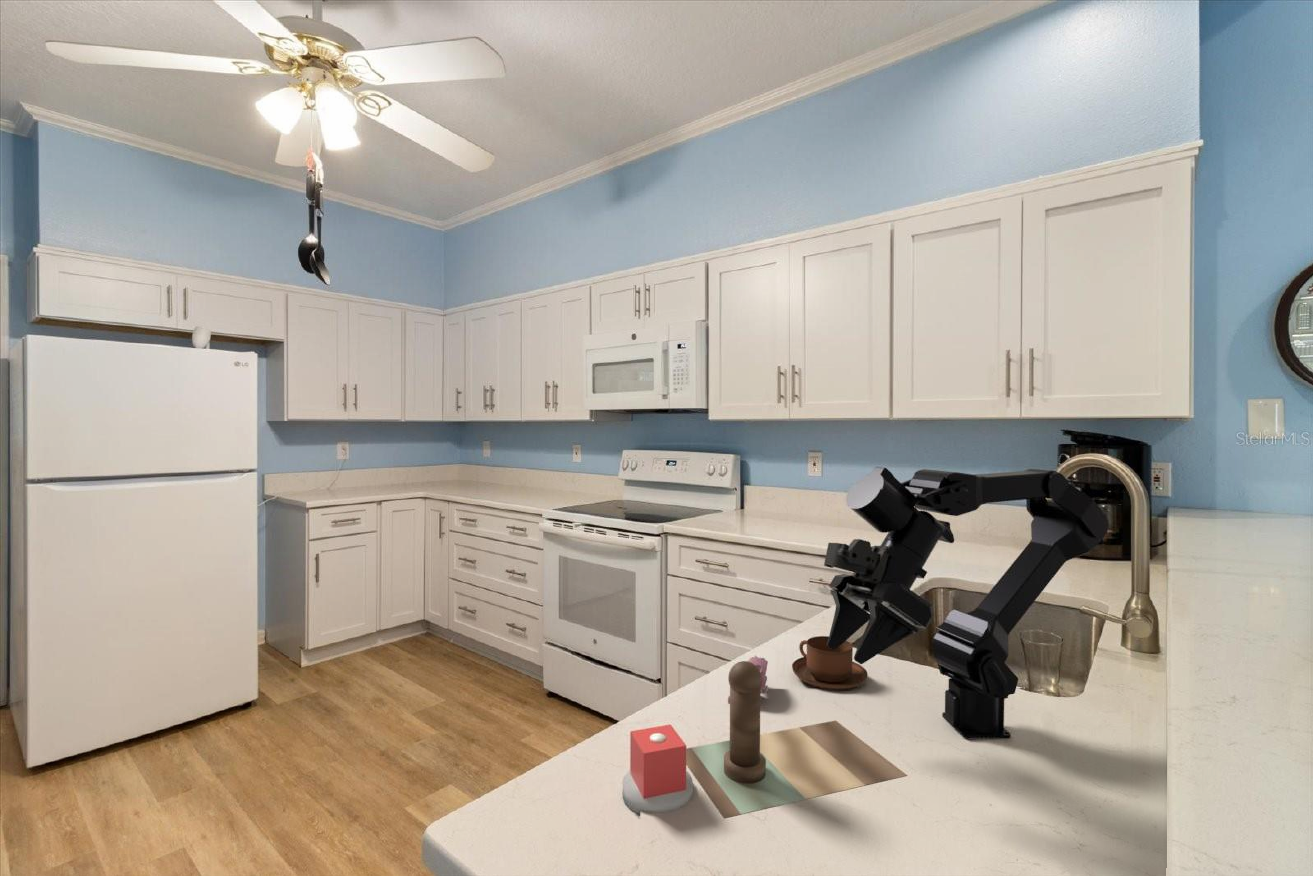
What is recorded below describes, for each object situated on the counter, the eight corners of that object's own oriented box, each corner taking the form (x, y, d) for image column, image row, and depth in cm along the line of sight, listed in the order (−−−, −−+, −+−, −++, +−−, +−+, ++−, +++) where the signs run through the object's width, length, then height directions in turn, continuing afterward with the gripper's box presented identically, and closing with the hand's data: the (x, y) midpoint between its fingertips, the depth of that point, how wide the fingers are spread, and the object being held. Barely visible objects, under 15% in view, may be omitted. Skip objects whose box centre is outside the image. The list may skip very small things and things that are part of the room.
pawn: (761, 759, 75) (762, 654, 75) (769, 783, 70) (770, 670, 70) (721, 759, 75) (721, 654, 75) (726, 783, 70) (727, 671, 70)
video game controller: (752, 722, 89) (774, 681, 88) (724, 705, 90) (746, 665, 89) (754, 692, 99) (774, 656, 98) (729, 678, 99) (748, 641, 99)
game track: (835, 724, 85) (835, 720, 85) (907, 780, 72) (907, 775, 72) (676, 755, 77) (676, 750, 77) (724, 823, 64) (724, 818, 64)
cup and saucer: (780, 685, 98) (781, 647, 98) (806, 661, 108) (806, 626, 108) (855, 704, 92) (856, 663, 92) (875, 676, 102) (876, 640, 102)
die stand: (677, 769, 74) (677, 715, 74) (703, 808, 66) (704, 749, 66) (614, 781, 71) (614, 726, 71) (634, 824, 64) (634, 762, 64)
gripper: (828, 519, 89) (771, 609, 86) (884, 514, 71) (814, 628, 68) (891, 562, 89) (836, 654, 86) (963, 569, 70) (897, 686, 68)
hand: (843, 654), depth 77 cm, fingers open, 9 cm apart
